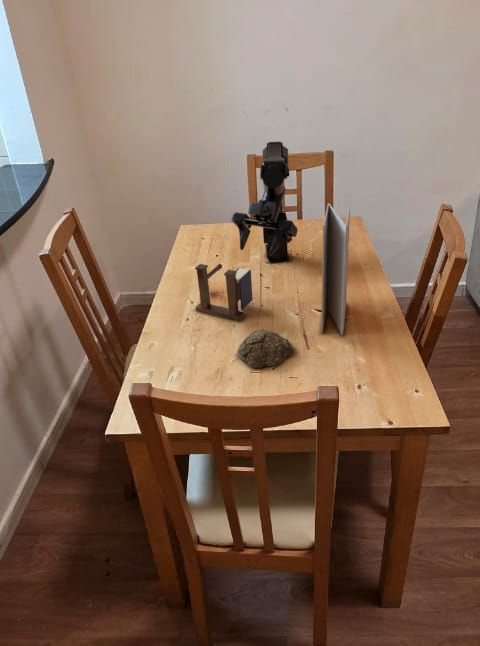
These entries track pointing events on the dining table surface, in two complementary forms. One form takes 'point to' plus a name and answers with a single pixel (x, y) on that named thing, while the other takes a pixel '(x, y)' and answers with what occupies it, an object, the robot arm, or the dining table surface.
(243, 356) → the grey brown rock
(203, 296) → the peg stand
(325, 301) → the brochure
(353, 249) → the dining table surface
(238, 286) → the book
